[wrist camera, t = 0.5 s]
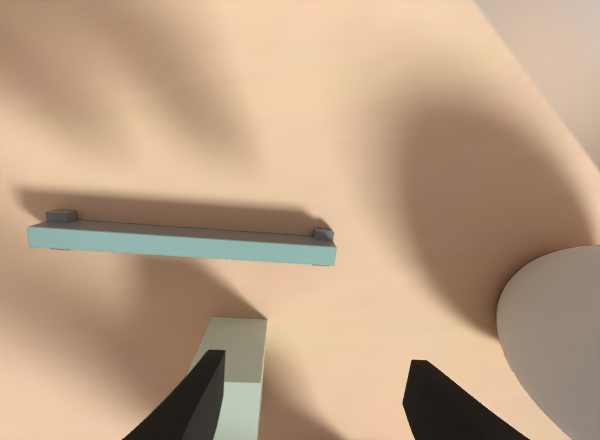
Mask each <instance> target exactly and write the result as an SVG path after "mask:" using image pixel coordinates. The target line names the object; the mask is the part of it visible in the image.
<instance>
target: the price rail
mask: <svg viewBox="0 0 600 440" xmlns="http://www.w3.org/2000/svg"><path fill="white" fill-rule="evenodd" d="M46 217H47V222H43V223H40V224H36V225H33V226H29V227H27V233H28V240H29V247H37V248H50V249H59V250H86V251H102V252H118V253H134V254H150V255H166V256H183V257H199V258H215V259H231V260H247V261H264V262H280V263H296V264H312V265H318V266H334V265H335V257H336V249H337V248H336V246H335V244H334V242H333V235H334V232H333V230H332V229H321V228H315V229H314V236H301V235H287V234H272V233H258V232H243V231H229V230H214V229H200V228H185V227H171V226H156V225H142V224H127V223H113V222H99V221H84V220H77V219H76V211H69V210H52V211H48V212H46Z"/></svg>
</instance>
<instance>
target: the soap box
mask: <svg viewBox="0 0 600 440" xmlns="http://www.w3.org/2000/svg"><path fill="white" fill-rule="evenodd" d="M266 332H267V319H252V318H230V317H212V318H211V321H210V323H209V325H208V327H207V330H206V332H205V334H204V336H203V338H202V341H201V343H200V345H199V347H198V350H197V352H196V354H195V356H194V358H193V361H192V363H191V365H190V367H189V370H188V372H187V374H186V376H187V375H188V373H189V372H190V371H191V370H192V369H193V368H194V366H195V365H196V364H197V363H198V362H199V360H200V359H201V358H202V356H203V355H204V354H205V353H206V352H207V351H208V350H209V349H211V350H226V355H225V375H224V395H223V401H222V406H221V411H220V415H219V420H218V424H217V429H216V432H215V435H214V438H213V440H258V435H259V424H260V413H261V403H262V390H263V376H264V361H265V346H266ZM186 376H185V377H186Z"/></svg>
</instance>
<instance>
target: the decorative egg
mask: <svg viewBox="0 0 600 440" xmlns="http://www.w3.org/2000/svg"><path fill="white" fill-rule="evenodd" d="M497 331H498V336H499V340H500V344H501V347H502V350H503V352H504V355H505V357H506V359H507V362H508V364H509V366H510V368H511V369H512V371H513V372H514V374H515V376H516V377H517V379H518V381H519V382H520V384H521V385H522V386H523V388H524V389H525V390H526V392H527V393H528V394H529V396H530V397H531V398H532V399H533V401H534V402H535V403H536V404H537V405H538V406H539V408H540V409H541V410H542V411H543V412H544V413H545V414H546V415H547V416H548V417H549V418H550V419H551V420H552V421H553V422H554V423H555V424H556V425H557V426H558V427H559V428H560V429H561V430H562V431H563V432H564V433H565V434H566V435H568V436H569V437H570V438H571V439H572V440H600V245H589V246H580V247H574V248H568V249H564V250H560V251H556V252H552V253H549V254H547V255H544V256H541V257H539V258H537V259H535V260H533V261H531V262H530V263H528V264H526V265H525V266H523V267H522V268H521V269H520V270H519V271H518V272H517V273H515V275H514V276H513V277H512V278H511V279H510V281H509V282H508V283H507V284H506V286H505V288H504V290H503V291H502V294H501V296H500V299H499V302H498V306H497Z"/></svg>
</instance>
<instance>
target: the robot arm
mask: <svg viewBox="0 0 600 440" xmlns="http://www.w3.org/2000/svg"><path fill="white" fill-rule="evenodd" d="M225 355H226V350H211V349H209V350H208V351H207V352H206V353H205V354H204V355H203V356H202V358H201V359H200V360H199V362H198V363H197V364H196V365H195V366H194V368H193V369H192V370H191V371H190V372H189V373H188V375H187V376H186V377H185V378H184V379H183V380H182V381H181V382H180V384H179V385H178V386H177V387H176V388H175V389H174V390H173V391H172V392H171V393H170V395H169V396H168V397H167V398H166V399H165V400H164V401H163V402H162V403H161V404H160V405H159V406H158V407H157V408H156V409H155V410H154V411H153V412H152V413H151V414H150V415H149V416H148V417H147V418H146V419H144V420H143V421H142V422H141V423H140V424H139V425H138V426H137V427H136V428H135V429H134V430H133V431H131V432H130V433H129V434H128V435H127V436H126V437H125V438H123V439H122V440H213V438H214V435H215V432H216V429H217V424H218V420H219V415H220V411H221V406H222V401H223V395H224V375H225ZM402 404H403V407H404V410H405V413H406V416H407V419H408V422H409V425H410V428H411V431H412V433H413V436H414V438H415V440H530V439H528V438H527V437H525V436H524V435H522V434H521V433H520V432H518V431H517V430H515V429H514V428H513V427H511V426H510V425H509V424H507V423H506V422H505V421H503V420H502V419H501V418H499V417H498V416H496V415H495V414H494V413H493V412H491V411H490V410H489V409H487V408H486V407H485V406H483V405H482V404H481V403H480V402H478V401H477V400H476V399H475V398H473V397H472V396H471V395H470V394H468V393H467V392H466V391H465V390H463V389H462V388H461V387H460V386H458V385H457V384H456V383H455V382H454V381H452V380H451V379H450V378H449V377H447V376H446V375H445V374H444V373H442V372H441V371H440V370H439V369H437V368H436V367H435V366H434V365H432V364H431V363H430V362H428V361H427V360H411V365H410V370H409V375H408V379H407V384H406V389H405V393H404V398H403V403H402Z"/></svg>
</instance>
